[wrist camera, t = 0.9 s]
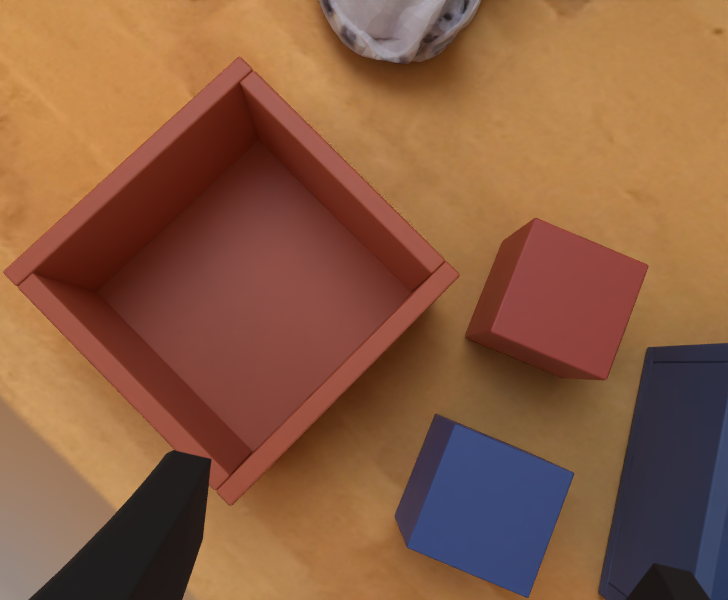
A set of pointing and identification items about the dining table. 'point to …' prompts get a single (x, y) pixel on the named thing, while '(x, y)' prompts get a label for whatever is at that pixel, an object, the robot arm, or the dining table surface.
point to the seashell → (398, 26)
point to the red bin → (232, 277)
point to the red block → (557, 301)
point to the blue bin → (674, 474)
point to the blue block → (482, 505)
